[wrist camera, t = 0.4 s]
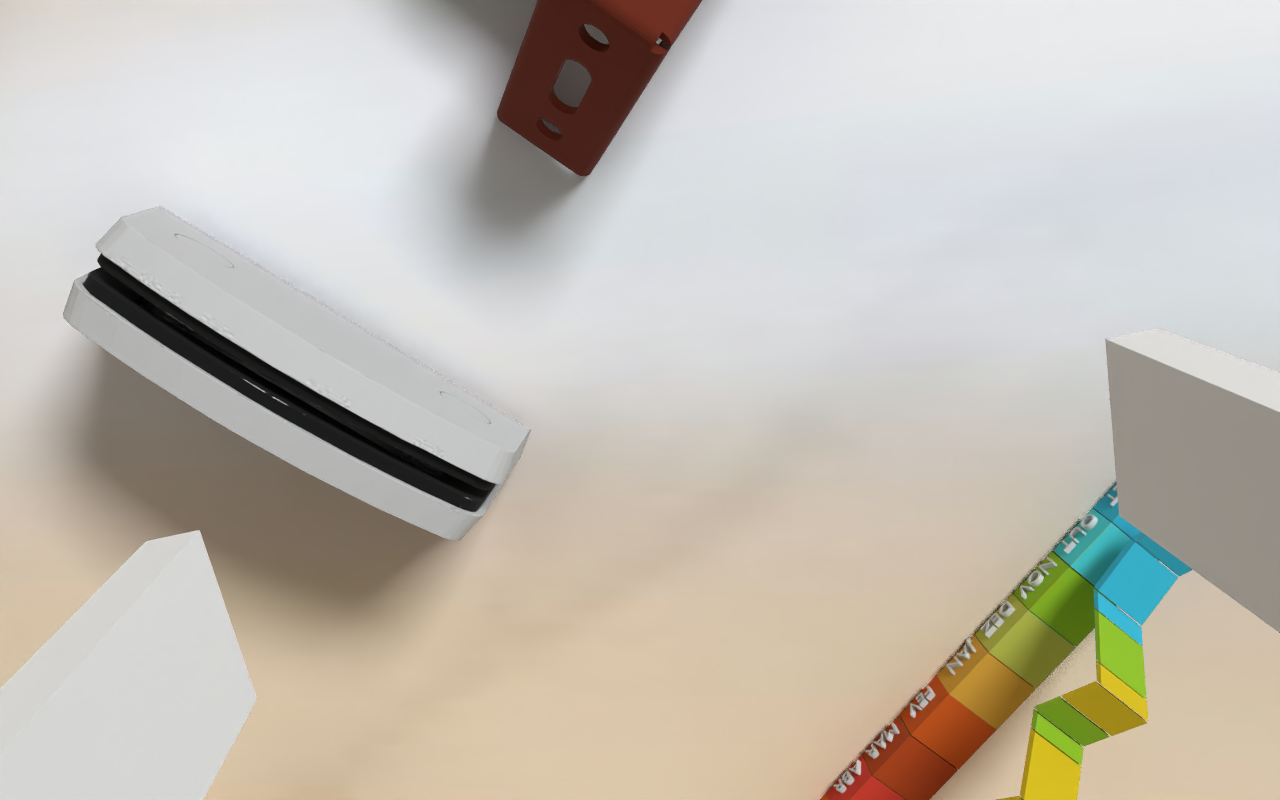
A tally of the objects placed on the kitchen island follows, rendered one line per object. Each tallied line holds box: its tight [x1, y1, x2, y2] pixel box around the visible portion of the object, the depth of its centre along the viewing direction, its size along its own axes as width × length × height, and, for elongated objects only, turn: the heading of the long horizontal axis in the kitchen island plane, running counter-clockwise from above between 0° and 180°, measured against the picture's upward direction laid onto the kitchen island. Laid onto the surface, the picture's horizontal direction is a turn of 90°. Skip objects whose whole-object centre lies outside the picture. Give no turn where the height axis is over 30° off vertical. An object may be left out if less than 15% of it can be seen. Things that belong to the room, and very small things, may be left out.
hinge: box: [63, 206, 530, 540], centre depth 37 cm, size 17×5×10 cm, turn 56°
